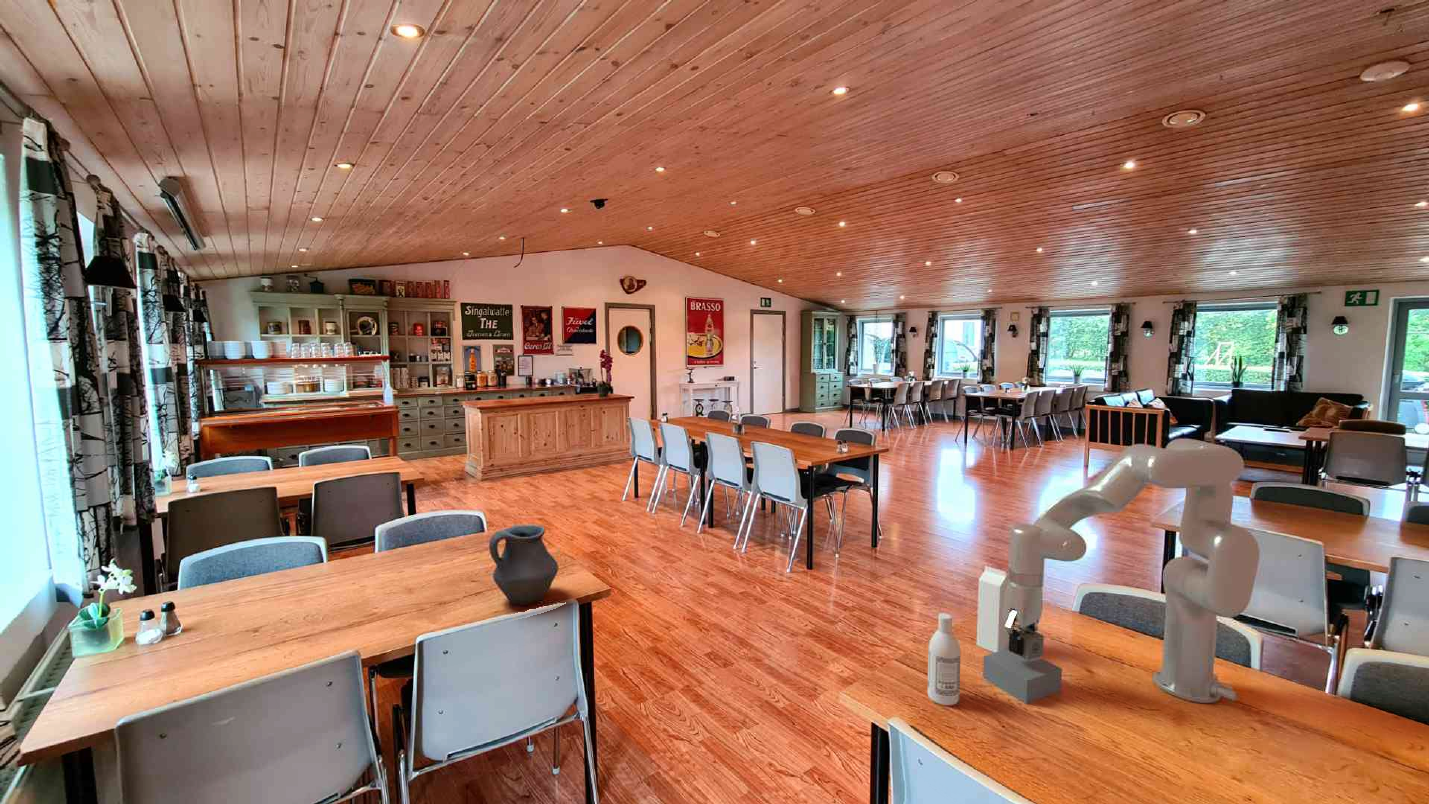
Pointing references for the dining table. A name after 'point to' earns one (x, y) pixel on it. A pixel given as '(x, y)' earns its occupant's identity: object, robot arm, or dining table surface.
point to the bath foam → (944, 664)
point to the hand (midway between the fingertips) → (1022, 648)
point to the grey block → (1022, 675)
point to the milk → (992, 610)
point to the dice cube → (1032, 644)
